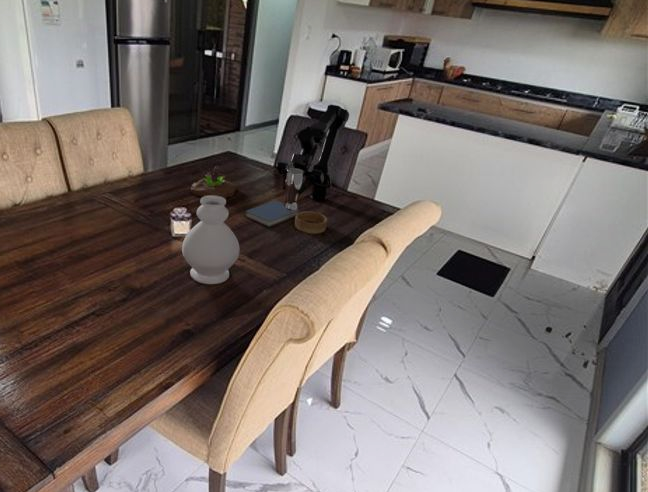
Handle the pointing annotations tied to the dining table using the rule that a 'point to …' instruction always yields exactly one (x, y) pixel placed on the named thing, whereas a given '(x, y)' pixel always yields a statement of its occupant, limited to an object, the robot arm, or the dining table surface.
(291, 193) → the beer glass
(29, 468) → the dining table surface
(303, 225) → the wooden bowl
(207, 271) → the decorative vase
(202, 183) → the plant
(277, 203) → the book
